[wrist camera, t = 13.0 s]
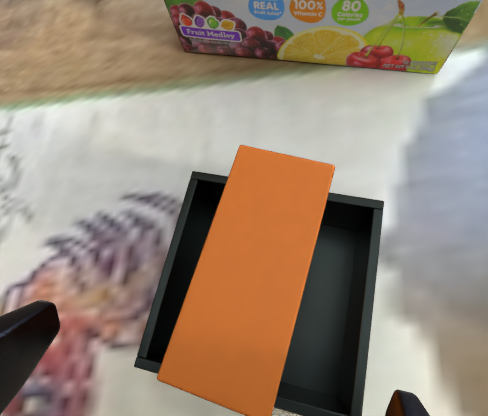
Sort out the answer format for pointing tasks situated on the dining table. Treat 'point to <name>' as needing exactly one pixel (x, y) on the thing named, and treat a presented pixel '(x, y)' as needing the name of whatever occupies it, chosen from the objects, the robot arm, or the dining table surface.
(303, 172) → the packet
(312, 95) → the dining table surface
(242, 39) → the snack box
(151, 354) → the black square tray
